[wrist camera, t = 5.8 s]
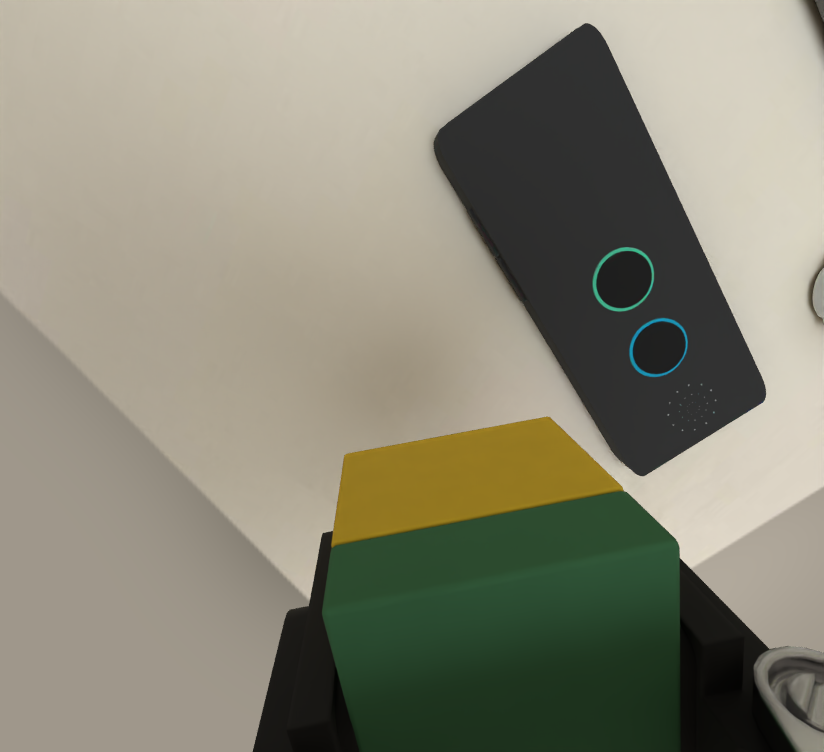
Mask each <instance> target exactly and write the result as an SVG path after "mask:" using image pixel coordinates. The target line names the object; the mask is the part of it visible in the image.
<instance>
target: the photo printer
mask: <svg viewBox="0 0 824 752" xmlns="http://www.w3.org/2000/svg"><path fill="white" fill-rule="evenodd" d="M813 306H814V309H815V311H816V313H817V315H818V316H819V317H821V318H823V324H824V268H823V269H822V270H821V271H820V273H819V275H818V277H817V279H816V282H815V285H814V289H813Z"/></svg>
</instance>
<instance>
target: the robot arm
mask: <svg viewBox="0 0 824 752" xmlns="http://www.w3.org/2000/svg"><path fill="white" fill-rule="evenodd" d="M332 536H333V531H331V532H326V533H323V534H322V538H321V543H320V549H319V554H318V560H317V565H316V571H315V576H314V581H313V587H312V592H311V598H310V603H309V606H307V607H302V608H296V609H291V610H289V611H288V613H287V615H286V618H285V621H284V625H283V629H282V633H281V637H280V641H279V646H278V650H277V654H276V658H275V662H274V666H273V670H272V674H271V678H270V683H269V687H268V691H267V695H266V699H265V703H264V707H263V712H262V716H261V720H260V724H259V728H258V732H257V736H256V740H255V744H254V749H253V752H359V748H358V744H357V741H356V737H355V733H354V730H353V726H352V723H351V720H350V717H349V713H348V709H347V706H346V702H345V698H344V694H343V691H342V687H341V683H340V679H339V676H338V672H337V668H336V665H335V661H334V657H333V653H332V650H331V646H330V642H329V638H328V635H327V631H326V627H325V624H324V620H323V616H322V608H323V602H324V595H325V588H326V581H327V574H328V567H329V560H330V553H331V549H332V546H331V543H332ZM680 736H681V752H824V653H823V652H820V651H816V650H812V649H808V648H803V647H790V646H785V647H779V648H773V649H769V648H768V647H767V646H766V645H765V644H764V643H763V642H762V641H761V640H760V639H759V638H758V637H757V636H756V635H755V634H754V633H753V632H752V631H751V630H750V629H749V628H748V627H747V626H746V625H745V624H744V623H743V622H742V621H741V620H740V619H739V618H738V617H737V616H736V615H735V614H734V613H733V612H732V611H731V610H730V608H728V606H726V604H724V602H723V601H722V600H721V599H719V597H718V596H717V595H716V594H715V593H714V592H713V591H712V590H711V589H710V588H709V587H708V586H707V585H706V584H705V583H704V582H703V581H702V580H701V579H700V578H699V577H698V576H697V575H696V574H695V573H694V572H693V571H692V570H691V569H690V568H689V567H688V566H687V565H686V564H685V563H684V562H683V561H682V560H681V559H680Z"/></svg>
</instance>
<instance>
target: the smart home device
mask: <svg viewBox="0 0 824 752" xmlns="http://www.w3.org/2000/svg"><path fill="white" fill-rule="evenodd" d="M434 151H435V155H436V158H437V160H438V162H439V164H440V166H441V168H442V170H443V171H444V173H445V175H446V176H447V178H448V180H449V181H450V183H451V185H452V186H453V188H454V190H455V191H456V193H457V195H458V196H459V198H460V200H461V201H462V203H463V205H464V206H465V208H466V210H467V212H468V214H469V216H470V217H471V219H472V221H473V222H474V224H475V226H476V227H477V229H478V231H479V232H480V234H481V236H482V237H483V239H484V241H485V242H486V244H487V246H488V247H489V249H490V251H491V252H492V254H493V255H494V256H495V259H496V260H497V262H498V264H499V265H500V267H501V269H502V270H503V272H504V274H505V275H506V277H507V279H508V280H509V282H510V284H511V285H512V287H513V289H514V290H515V292H516V294H517V295H518V297H519V299H520V300H521V301H522V302H523V304H524V306H525V307H526V309H527V311H528V312H529V314H530V316H531V317H532V319H533V321H534V322H535V324H536V326H537V327H538V329H539V331H540V332H541V334H542V336H543V337H544V339H545V340H546V342H547V344H548V345H549V347H550V349H551V350H552V352H553V354H554V355H555V357H556V359H557V360H558V362H559V364H560V365H561V367H562V369H563V370H564V372H565V374H566V375H567V377H568V379H569V380H570V382H571V384H572V385H573V387H574V389H575V390H576V392H577V394H578V395H579V397H580V398H581V400H582V402H583V403H584V405H585V407H586V408H587V410H588V412H589V413H590V415H591V417H592V418H593V420H594V422H595V423H596V425H597V427H598V428H599V430H600V432H601V433H602V435H603V437H604V438H605V440H606V442H607V443H608V445H609V447H610V448H611V450H612V451H613V453H614V454H615V456H616V457H617V458H618V459H619V460H620V461H622V462H623V463H624V464H625V465H626V466H627V467H629V468H630V469H631V470H632V471H633V472H634V473H636V474H637V475H639V476H645V475H647V474H648V473H650V472H652V471H653V470H655V469H656V468H658V467H660V466H661V465H663V464H664V463H666V462H668V461H669V460H671V459H672V458H674V457H676V456H677V455H679V454H681V453H682V452H684V451H685V450H687V449H689V448H690V447H692V446H693V445H695V444H697V443H698V442H700V441H701V440H703V439H705V438H706V437H708V436H709V435H711V434H713V433H714V432H716V431H718V430H719V429H721V428H722V427H724V426H726V425H727V424H729V423H730V422H732V421H734V420H735V419H737V418H738V417H740V416H742V415H743V414H745V413H747V412H748V411H750V410H751V409H753V408H755V407H756V406H758V405H759V404H761V403H763V402H764V400H765V398H766V389H765V384H764V381H763V379H762V376H761V374H760V372H759V370H758V368H757V366H756V364H755V361H754V359H753V357H752V355H751V353H750V351H749V348H748V346H747V344H746V342H745V340H744V338H743V336H742V333H741V331H740V329H739V327H738V325H737V323H736V321H735V318H734V316H733V314H732V312H731V310H730V308H729V305H728V303H727V301H726V299H725V297H724V295H723V293H722V290H721V288H720V286H719V284H718V282H717V280H716V277H715V275H714V273H713V271H712V269H711V267H710V265H709V262H708V260H707V258H706V256H705V254H704V252H703V249H702V247H701V245H700V243H699V241H698V239H697V237H696V234H695V232H694V230H693V228H692V226H691V224H690V221H689V219H688V217H687V215H686V213H685V211H684V209H683V206H682V204H681V202H680V200H679V198H678V196H677V193H676V191H675V189H674V187H673V185H672V183H671V181H670V178H669V176H668V174H667V172H666V170H665V168H664V165H663V163H662V161H661V159H660V157H659V155H658V153H657V150H656V148H655V146H654V144H653V142H652V140H651V137H650V135H649V133H648V131H647V129H646V127H645V125H644V122H643V120H642V118H641V116H640V114H639V112H638V109H637V107H636V105H635V103H634V101H633V99H632V97H631V94H630V92H629V90H628V88H627V86H626V84H625V81H624V79H623V77H622V75H621V73H620V71H619V69H618V66H617V64H616V62H615V60H614V58H613V56H612V53H611V51H610V49H609V47H608V45H607V43H606V41H605V40H604V38H603V36H602V35H601V33H600V32H599V31H598V30H597V29H596V28H595V27H594V26H592V25H591V24H588V23H585V24H583V25H582V26H581V27H579V28H577V29H575V30H574V31H573V32H571V33H570V34H569V35H567V36H566V37H565V38H563V39H562V40H560V41H559V42H558V43H556V44H555V45H554V46H552V47H551V48H549V49H548V50H547V51H545V52H544V53H543V54H541V55H540V56H539V57H537V58H536V59H534V60H533V61H532V62H530V63H529V64H528V65H526V66H525V67H524V68H522V69H521V70H519V71H518V72H517V73H515V74H514V75H513V76H511V77H510V78H508V79H507V80H506V81H504V82H503V83H502V84H500V85H499V86H498V87H496V88H495V89H493V90H492V91H491V92H489V93H488V94H487V95H485V96H484V97H483V98H481V99H480V100H478V101H477V102H476V103H474V104H473V105H472V106H470V107H469V108H467V109H466V110H465V111H463V112H462V113H461V114H459V115H458V116H457V117H455V118H454V119H452V120H451V121H450V122H448V123H447V124H446V125H445V126H444V127H442V128H441V129H440V130H439V132H438V134H437V136H436V138H435V140H434Z"/></svg>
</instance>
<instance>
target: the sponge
mask: <svg viewBox="0 0 824 752" xmlns="http://www.w3.org/2000/svg"><path fill="white" fill-rule="evenodd" d="M331 546H332V549H331V553H330V560H329V567H328V574H327V581H326V588H325V595H324V602H323V608H322V616H323V620H324V624H325V627H326V631H327V635H328V638H329V642H330V646H331V650H332V653H333V657H334V661H335V665H336V668H337V672H338V676H339V679H340V683H341V687H342V691H343V694H344V698H345V702H346V706H347V709H348V713H349V717H350V720H351V723H352V726H353V730H354V733H355V737H356V741H357V744H358V748H359V752H681V736H680V554H679V545H678V542H677V541H676V539H675V538H674V537H673V536H672V535H671V534H670V533H669V532H668V531H667V530H666V529H665V528H664V527H663V526H661V525H660V524H659V523H658V522H657V521H656V520H655V519H654V518H653V517H652V516H651V515H650V514H649V513H648V512H647V511H646V510H645V509H644V508H643V507H642V506H641V505H640V504H639V503H638V502H637V501H636V500H635V499H633V498H632V497H631V496H630V495H629V494H628V493H627V492H625V491H624V490H623V488H622V486H621V485H620V484H619V483H618V482H617V481H616V480H615V479H614V478H613V477H612V476H611V475H609V474H608V473H607V472H606V471H605V470H604V469H603V468H602V467H601V466H600V465H599V464H598V463H597V462H596V461H595V460H594V459H593V458H592V457H591V456H590V455H589V454H588V453H587V452H586V451H585V450H583V449H582V448H581V447H580V446H579V445H578V444H577V443H576V442H575V441H574V440H573V439H572V438H571V437H570V436H569V435H568V434H567V433H566V432H565V431H564V430H563V429H562V428H561V427H560V426H558V425H557V424H556V423H555V422H554V421H553V420H552V419H551V418H550V417H543V418H537V419H532V420H526V421H521V422H516V423H510V424H505V425H499V426H494V427H489V428H483V429H478V430H472V431H467V432H462V433H456V434H451V435H446V436H440V437H435V438H429V439H424V440H419V441H413V442H408V443H402V444H397V445H392V446H386V447H381V448H375V449H370V450H365V451H359V452H354V453H348V454H346V455H344V461H343V468H342V475H341V482H340V489H339V495H338V502H337V509H336V516H335V523H334V529H333V536H332V543H331Z"/></svg>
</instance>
